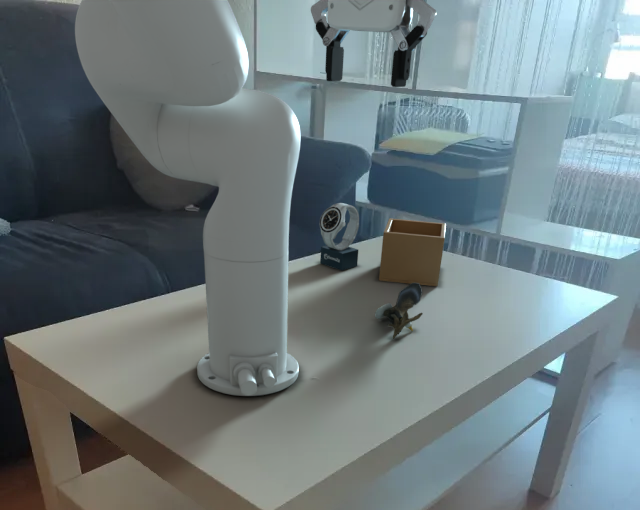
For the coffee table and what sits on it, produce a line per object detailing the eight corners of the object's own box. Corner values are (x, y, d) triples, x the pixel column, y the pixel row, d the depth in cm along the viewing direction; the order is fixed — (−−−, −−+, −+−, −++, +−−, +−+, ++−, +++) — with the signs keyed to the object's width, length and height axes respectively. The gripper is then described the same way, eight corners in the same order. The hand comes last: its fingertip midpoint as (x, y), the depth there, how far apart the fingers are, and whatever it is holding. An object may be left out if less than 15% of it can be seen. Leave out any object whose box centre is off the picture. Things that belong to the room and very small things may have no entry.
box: (437, 286, 111) (444, 238, 106) (378, 280, 112) (383, 232, 108) (439, 268, 120) (445, 223, 115) (384, 263, 121) (389, 218, 117)
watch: (313, 265, 118) (315, 204, 112) (342, 257, 123) (345, 198, 117) (334, 272, 115) (338, 210, 109) (363, 264, 120) (368, 204, 114)
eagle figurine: (434, 335, 89) (432, 302, 96) (412, 296, 85) (411, 264, 92) (386, 355, 92) (387, 322, 99) (363, 319, 89) (365, 286, 95)
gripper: (299, -84, 75) (295, 79, 84) (432, -90, 68) (412, 89, 77) (331, -73, 81) (324, 78, 90) (458, -78, 74) (437, 88, 82)
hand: (365, 83), depth 83 cm, fingers open, 9 cm apart
